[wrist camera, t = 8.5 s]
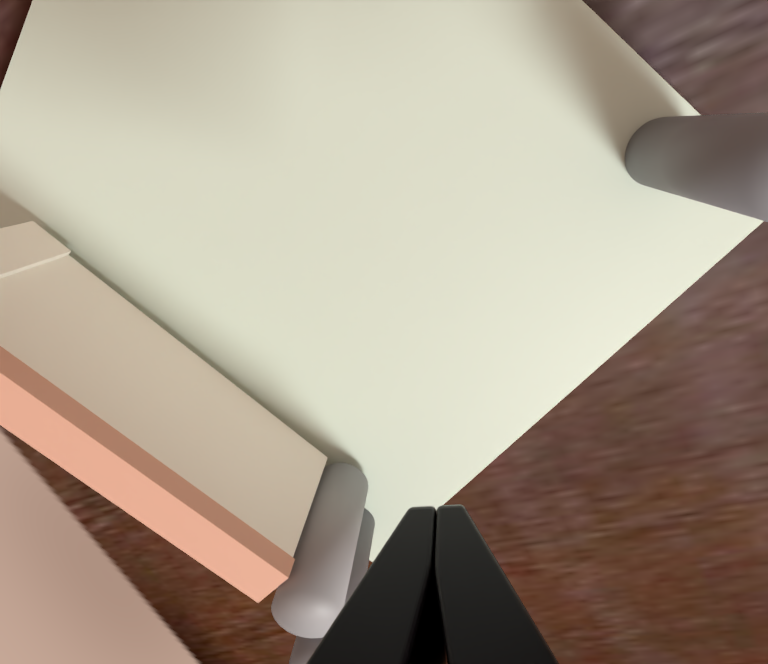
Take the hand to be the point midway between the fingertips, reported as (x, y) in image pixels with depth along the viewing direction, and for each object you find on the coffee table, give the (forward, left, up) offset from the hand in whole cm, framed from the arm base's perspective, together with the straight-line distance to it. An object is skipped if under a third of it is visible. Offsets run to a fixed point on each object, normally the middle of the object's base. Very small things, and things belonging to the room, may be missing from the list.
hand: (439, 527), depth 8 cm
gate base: (-1, +5, -12) cm, 13 cm away
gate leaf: (-8, +5, -10) cm, 14 cm away
